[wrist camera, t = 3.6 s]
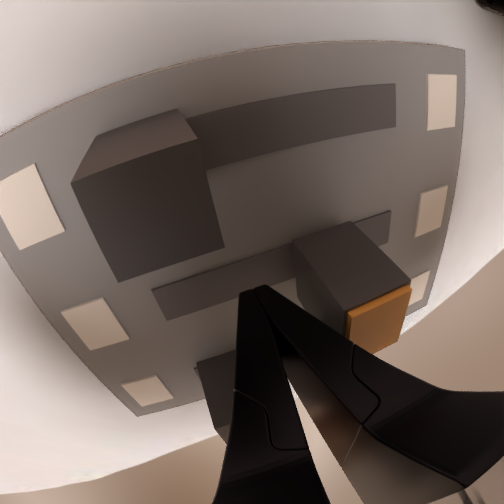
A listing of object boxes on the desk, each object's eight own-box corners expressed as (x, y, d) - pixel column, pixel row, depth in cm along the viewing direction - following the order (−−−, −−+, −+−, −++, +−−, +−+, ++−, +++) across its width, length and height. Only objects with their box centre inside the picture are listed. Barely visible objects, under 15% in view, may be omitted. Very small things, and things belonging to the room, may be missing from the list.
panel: (441, 45, 9) (533, 69, 5) (413, 291, 17) (458, 342, 13) (-25, 151, 6) (-103, 222, 3) (134, 396, 14) (146, 472, 11)
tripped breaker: (350, 220, 10) (416, 285, 7) (348, 277, 11) (399, 341, 9) (291, 240, 9) (348, 316, 7) (297, 296, 11) (342, 370, 8)
